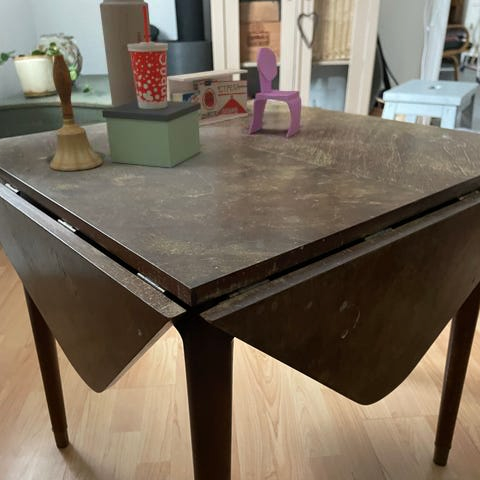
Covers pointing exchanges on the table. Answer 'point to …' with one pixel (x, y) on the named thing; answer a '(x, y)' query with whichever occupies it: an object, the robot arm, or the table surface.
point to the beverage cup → (149, 71)
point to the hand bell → (70, 128)
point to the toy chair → (273, 93)
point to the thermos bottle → (122, 44)
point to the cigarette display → (211, 94)
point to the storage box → (153, 133)
